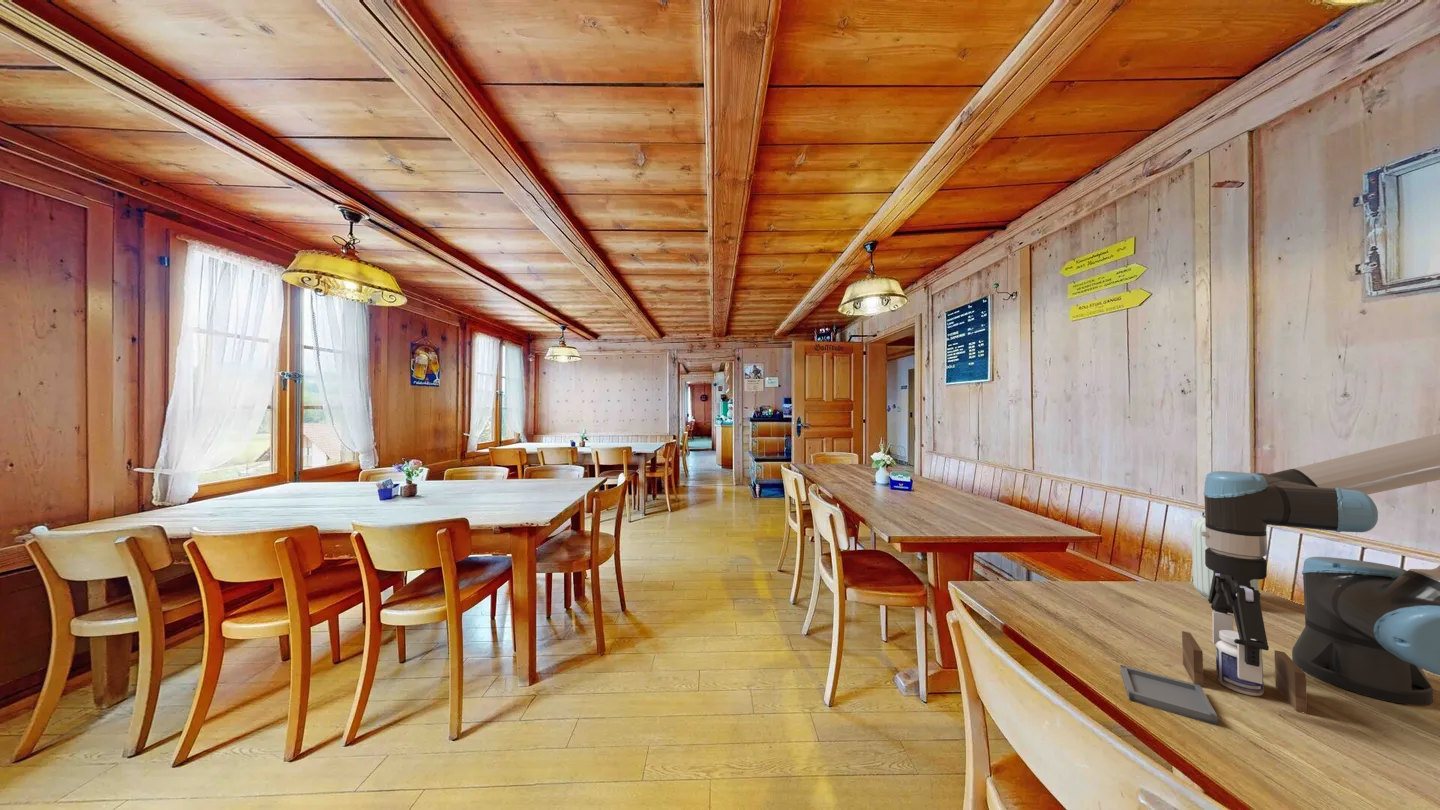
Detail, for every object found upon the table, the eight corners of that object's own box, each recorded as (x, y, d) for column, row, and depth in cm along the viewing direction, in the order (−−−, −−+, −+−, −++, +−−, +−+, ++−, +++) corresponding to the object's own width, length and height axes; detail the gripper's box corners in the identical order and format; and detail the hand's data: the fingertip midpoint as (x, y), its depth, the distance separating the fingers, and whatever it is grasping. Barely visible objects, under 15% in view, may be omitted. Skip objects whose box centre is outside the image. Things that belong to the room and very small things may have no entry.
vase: (1269, 613, 107) (1266, 526, 107) (1203, 603, 113) (1200, 521, 113) (1246, 595, 116) (1243, 516, 116) (1186, 587, 123) (1184, 511, 123)
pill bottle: (1274, 698, 77) (1272, 645, 77) (1236, 695, 79) (1234, 642, 79) (1242, 678, 83) (1240, 628, 83) (1207, 676, 84) (1206, 626, 84)
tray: (1200, 692, 80) (1199, 684, 80) (1218, 725, 72) (1218, 717, 72) (1120, 672, 86) (1120, 664, 86) (1129, 700, 78) (1129, 692, 78)
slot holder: (1285, 688, 80) (1284, 652, 80) (1307, 714, 74) (1305, 674, 74) (1183, 664, 88) (1181, 631, 88) (1194, 685, 82) (1193, 649, 82)
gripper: (1187, 532, 93) (1188, 627, 93) (1228, 569, 73) (1229, 689, 73) (1239, 538, 89) (1240, 638, 89) (1298, 579, 69) (1299, 707, 69)
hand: (1235, 661), depth 81 cm, fingers open, 13 cm apart
